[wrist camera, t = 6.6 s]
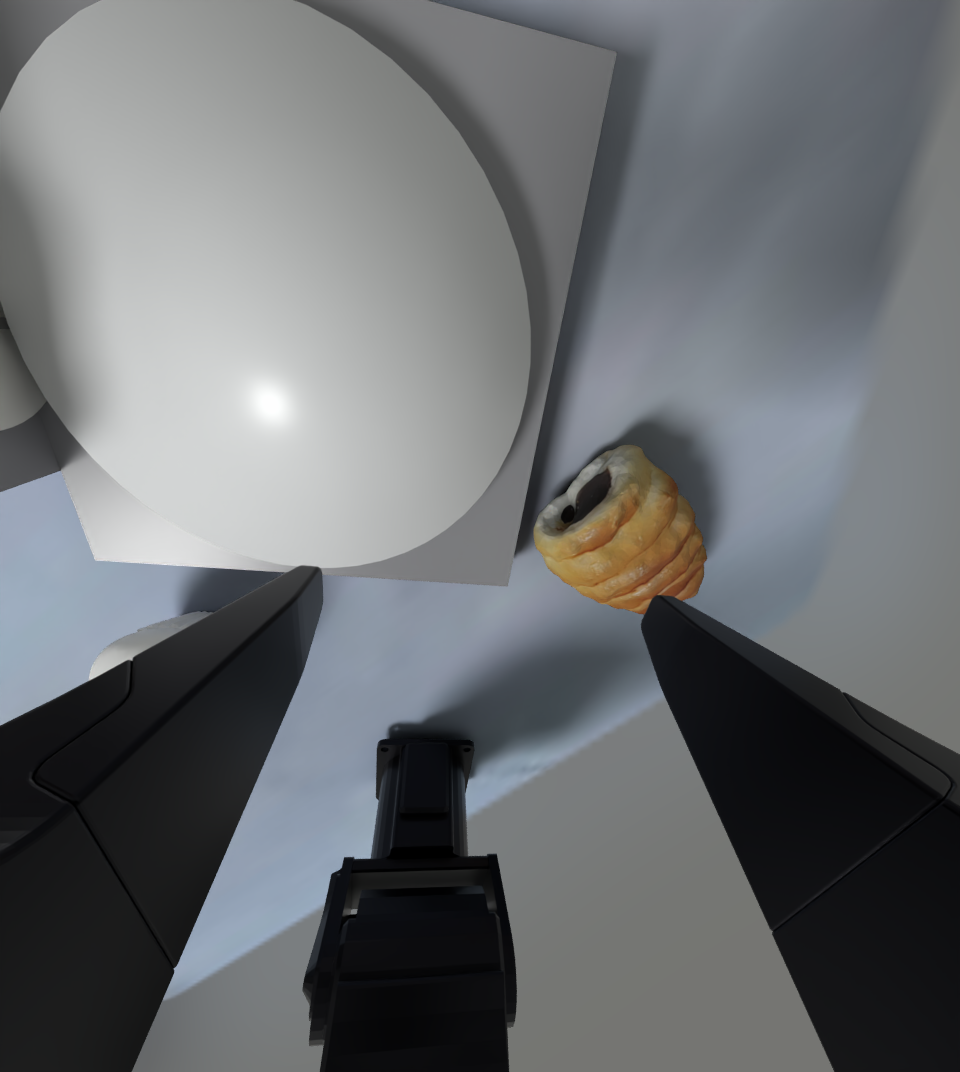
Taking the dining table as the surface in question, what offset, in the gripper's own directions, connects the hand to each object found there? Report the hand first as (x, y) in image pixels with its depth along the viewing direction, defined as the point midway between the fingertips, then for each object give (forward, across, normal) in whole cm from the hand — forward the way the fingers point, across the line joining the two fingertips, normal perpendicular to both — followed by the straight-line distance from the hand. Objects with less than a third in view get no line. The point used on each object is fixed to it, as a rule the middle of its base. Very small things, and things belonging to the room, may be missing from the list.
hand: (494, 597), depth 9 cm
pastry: (+11, -8, +6) cm, 15 cm away
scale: (+10, +7, -3) cm, 13 cm away
